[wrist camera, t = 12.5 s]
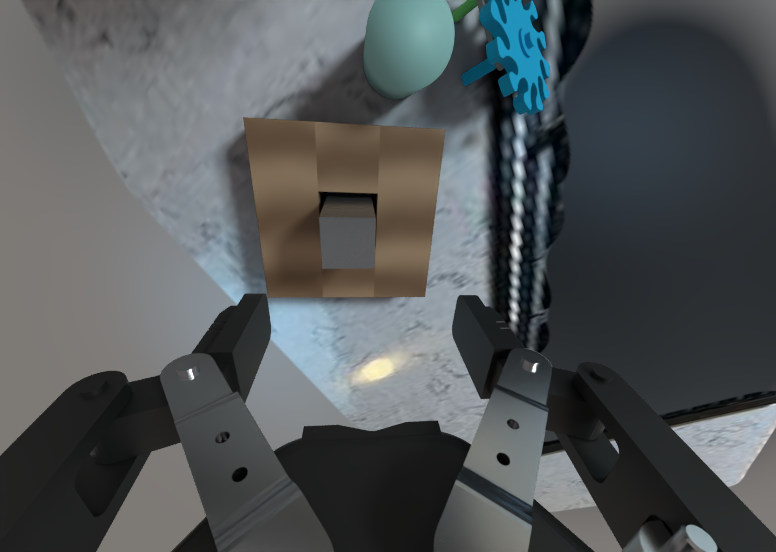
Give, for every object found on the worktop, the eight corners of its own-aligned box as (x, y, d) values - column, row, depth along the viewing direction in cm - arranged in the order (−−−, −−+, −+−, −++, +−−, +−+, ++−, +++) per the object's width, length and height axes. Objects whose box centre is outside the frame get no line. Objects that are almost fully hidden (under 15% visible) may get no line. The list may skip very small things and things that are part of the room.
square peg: (329, 190, 30) (319, 217, 21) (369, 190, 31) (375, 217, 22) (331, 228, 32) (322, 268, 23) (369, 229, 33) (374, 268, 24)
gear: (566, 97, 27) (527, 120, 21) (502, 124, 32) (456, 150, 26) (534, -51, 24) (477, -73, 18) (468, 3, 28) (404, 0, 22)
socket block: (257, 118, 27) (243, 117, 23) (434, 128, 29) (445, 129, 25) (277, 279, 34) (267, 297, 30) (417, 279, 36) (424, 296, 32)
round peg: (363, 17, 25) (366, -27, 18) (431, 24, 25) (461, -16, 18) (362, 97, 27) (364, 86, 20) (424, 101, 28) (448, 93, 21)
